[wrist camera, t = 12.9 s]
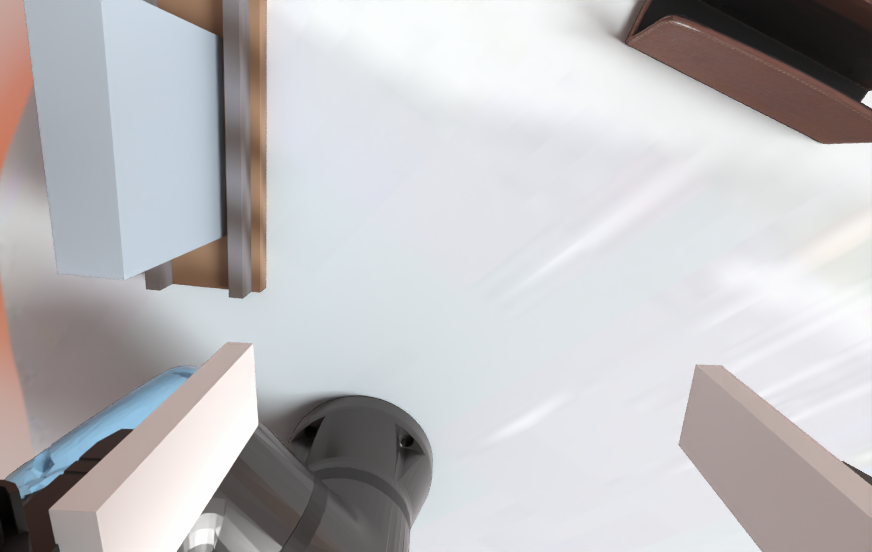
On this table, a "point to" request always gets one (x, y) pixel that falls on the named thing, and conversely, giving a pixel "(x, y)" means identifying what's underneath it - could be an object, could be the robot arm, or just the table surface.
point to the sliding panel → (127, 133)
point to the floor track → (231, 152)
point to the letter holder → (772, 57)
